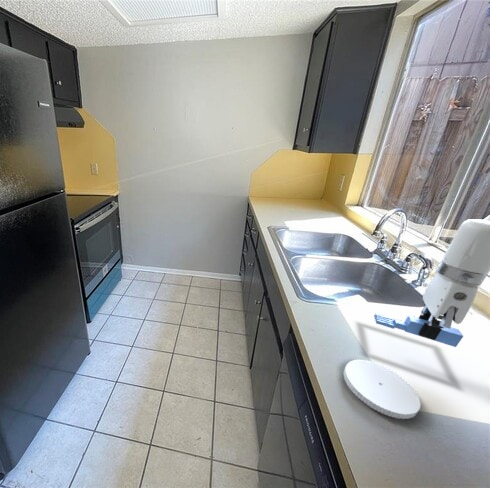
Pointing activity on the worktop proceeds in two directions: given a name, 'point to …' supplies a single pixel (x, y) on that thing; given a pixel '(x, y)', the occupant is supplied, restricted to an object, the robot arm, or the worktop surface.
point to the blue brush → (415, 325)
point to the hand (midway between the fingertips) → (424, 332)
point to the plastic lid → (381, 389)
